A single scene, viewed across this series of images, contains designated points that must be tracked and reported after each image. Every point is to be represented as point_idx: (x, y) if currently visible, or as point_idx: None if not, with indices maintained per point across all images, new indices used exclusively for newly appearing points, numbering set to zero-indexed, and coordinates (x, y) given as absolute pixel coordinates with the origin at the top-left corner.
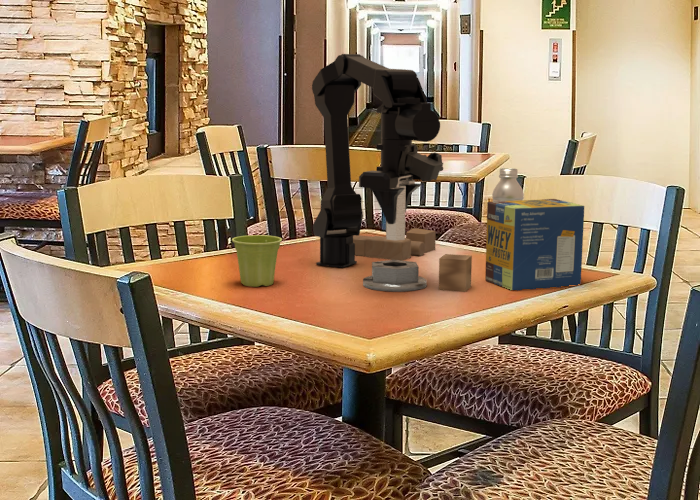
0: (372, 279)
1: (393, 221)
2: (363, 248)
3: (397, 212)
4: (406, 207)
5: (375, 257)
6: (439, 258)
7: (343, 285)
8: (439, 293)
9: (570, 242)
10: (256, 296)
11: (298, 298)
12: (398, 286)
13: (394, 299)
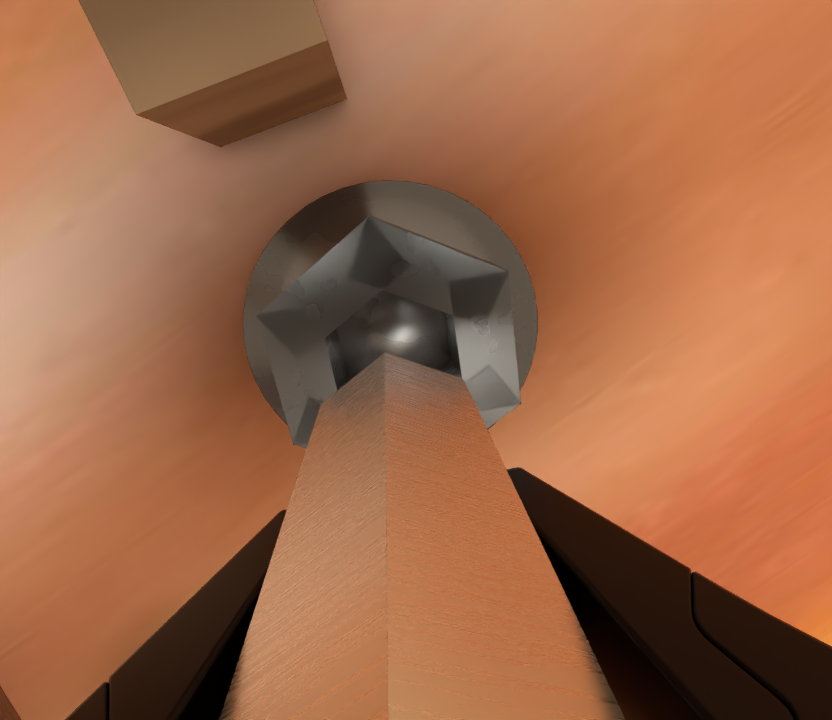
0: None
1: (527, 474)
2: None
3: (518, 523)
4: (178, 625)
5: (5, 701)
6: (325, 39)
7: None
8: (412, 44)
9: None
10: (818, 552)
11: (793, 446)
12: (506, 237)
13: (648, 150)
